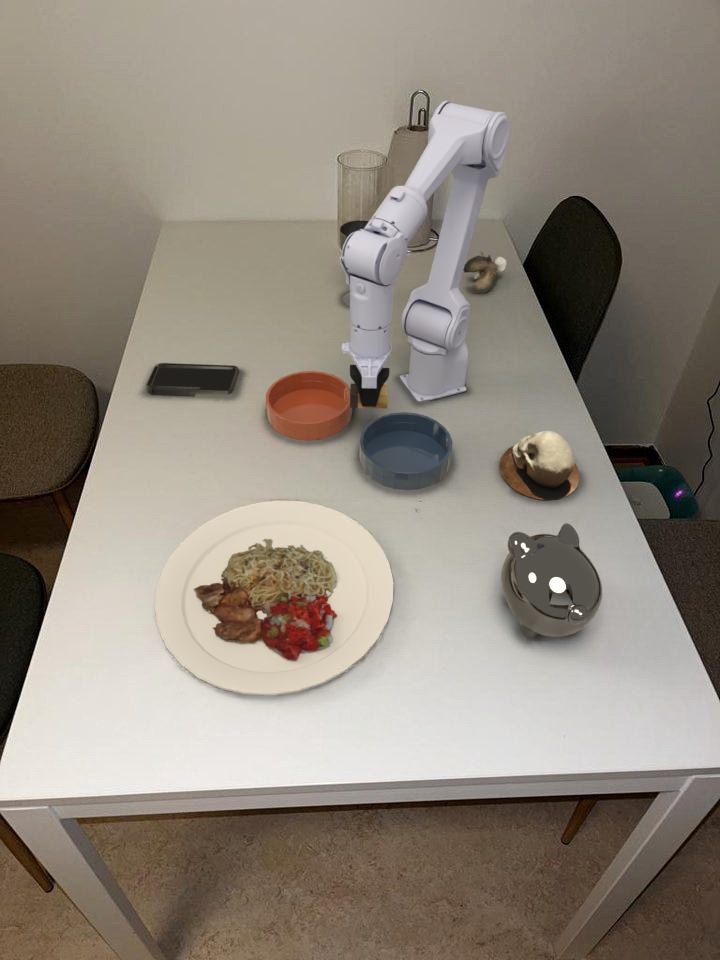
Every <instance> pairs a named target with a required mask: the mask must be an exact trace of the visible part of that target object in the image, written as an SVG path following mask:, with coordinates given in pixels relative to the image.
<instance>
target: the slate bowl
mask: <svg viewBox="0 0 720 960" xmlns="http://www.w3.org/2000/svg"><path fill="white" fill-rule="evenodd" d="M453 442H454V441H453V438H452V436H451V433H450V432H449V431H448V429H447V428H446V427H445V426H444V425H443V424H442V423H440V421H438V420H436V419H434V418H432V417H430V416H427V415H424V414H420V413H417V412H407V411H402V412H401V411H400V412H390V413H387V414H383V415H381V416H378V417H376V418H374V419H373V420H371V421H370V422H368V424H366V425H365V427H364V428H363V429H362V431H361V433H360V437H359V448H358V449H359V456H358V457H359V463H360V466H361V468H362V470H363V472H364V473H365V474H366V475H367V476H368V477H369V478H370V479H371V480H373V481H374V482H375V483H377V484H380V485H382V486H385V487H386V488H390V489H395V490H401V491H413V490H420V489H425V488H427V487H430V486H432V485H434V484H436V485H438V484H440V483H441V482H442V481H443V480H444V479H445V478H446V477H447V475H448V473H449V470H450V467H451V461H452V453H453V444H454V443H453Z"/></svg>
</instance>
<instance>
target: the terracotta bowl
mask: <svg viewBox="0 0 720 960" xmlns="http://www.w3.org/2000/svg"><path fill="white" fill-rule="evenodd" d="M265 406H266V415H267V420H268V422H269V424H270V426H271V427H272V428H273V429H274V430H275V431H276V432H277V433H279V434H281V435H283V436H285V437H287V438H290V439H293V440H298V441H299V440H301V441H317V440H323V439H326V438H329V437H332V436H334V435H336V434H338V433H340V432H341V431H343V430H344V429H345V428H346V427H347V426H348V425H349V423H350V422H351V420H352V415H353V408H350V386H349V384H348V383H347V382H346V381H344V380H343V379H342V378H341V377H339V376H336V375H334V374H332V373H328V372H324V371H315V370H305V371H303V370H302V371H298V372H293V373H289V374H287V375H285V376H282V377H280V378H279V379H277V380H275V381H274V382H273V383H272V384H271V385H270V386H269V387H268V389H267V392H266V394H265Z"/></svg>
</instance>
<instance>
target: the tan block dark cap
mask: <svg viewBox="0 0 720 960" xmlns="http://www.w3.org/2000/svg"><path fill="white" fill-rule="evenodd" d="M349 388H350V408H352V409H388V404H389V403H388V401H389V400H388V399H389V385H388V384H385V383H384V384H383V386H382V388H381V391H380V395H379V399H378V402H377V405H376V407H363V406H362V404H361V401H360V397H359V393H358V389H357V386H356V384H355V383H354V382H353V383H351V382H350V386H349Z"/></svg>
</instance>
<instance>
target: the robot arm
mask: <svg viewBox="0 0 720 960" xmlns="http://www.w3.org/2000/svg"><path fill="white" fill-rule="evenodd" d="M510 136H511V130H510V121H509V119H508V115H507V113H505V112H504V111H493V110H487V109H484V108H478V107H473V106H468V105H464V104H459V103H454V102H452V101H450V100H444V101H442V102H441V103H440V104H438V106H437V108H436V109H435V110H434V112H433V114H432V116H431V118H430V121H429V125H428V132H427V144H426V147H425V148H424V150H423V152H422V154H421V155H420V157H419V158H418V160H417V163H416V165H415V166H414V167H413V169H412V171H411V173H410V175H409V176H408V179H407V180H406V182H405V183H404V185H395V186H393V187H392V188H391V189H390V191H389V192H388V194H387V195H386V196H385V198H384V199H383V201H382V202H381V203H380V205H379V206H378V207H377V208H376V211H375V212H374V213H373V215H372V217H370V219H369V220H368V221H369V222H368V223H367V225H366V226H365V228H364V229H360V230H359V231H358V230H357V231H356V232H353V233H351V234H350V235H349V236H348V237H347V239H346V241H345V243H344V246H343V249H342V250H341V256H340V257H339V265H340V269H341V271H343V273H344V276H345V284H346V286H347V287H348V288H349V293H350V307H349V341H346V342H343V343H341V353H342V354H343V355H349V356H350V358H351V359H352V361H353V363H354V364H350V365H349V376H350V379H351V381H353V383H354V384H356V386H357V389H358V393H359V397H360V401H361V404H362V406H363V407H376V405H377V402H378V399H379V395H380V391H381V388H382V386H383V384H384V385H385V383H386V382H387V381H388V379H389V377H390V373H391V372H390V367H384V366H385V365H386V363H387V362H388V360H389V358H390V357H391V356H392V351H393V345H392V344H391V343H392V341H391V340H392V322H393V320H392V318H393V317H392V316H393V298H394V296H393V294H394V281H395V280H396V279H397V278H398V277H399V275H400V273H401V271H402V267H403V266H404V265H403V264H404V260H405V258H406V255H407V254H408V253H407V252H408V251H409V250H408V245H409V243H410V242H411V240H412V239H413V237H414V236H415V235H416V233H417V231H418V230H419V228H420V227H421V225H422V224H423V222H424V221H425V219H426V218H427V217H428V213H429V212H428V206H427V201H428V200H429V199H430V198H431V197H432V196H433V194H434V193H435V192H436V191H437V189H438V188H439V187H440V186H441V185H442V183H443V182H444V181H445V180H446V178H447V177H449V175H450V174H452V178H453V181H452V185H451V189H450V193H449V196H448V200H447V205H446V208H445V213H444V216H443V220H442V225H441V228H440V232H439V236H438V240H437V243H436V248H435V251H434V256H433V260H432V264H431V268H430V272H429V275H428V280H427V282H426V283H425V284H422V285H420V286H418V287H416V288H414V289H412V290H411V292H410V295H409V297H408V301H407V303H406V305H405V307H404V309H403V311H402V314H401V317H400V327H401V331H402V333H403V334H404V335H406V336H407V338H406V341H407V342H408V343H410V353H409V367H408V373H405V374H401V375H399V378H400V380H401V381H402V383H403V384H404V385H405V387H406V388H407V389H408V390H409V392H410V393H411V395H412V396H413V397H414V398H415V400H416V401H417V402H423V401H427V400H428V401H433V400H436V399H441V398H445V397H449V396H453V395H457V394H461V393H465V392H467V387H466V386H465V384H466V377H467V372H468V371H467V369H468V363H469V351H468V346H467V344H466V342H465V339H466V336H467V333H468V330H469V317H470V312H471V304H470V302H469V301H468V300H467V298H466V297H465V296H464V294H463V293H462V291H461V290H460V284H461V280H462V276H463V273H464V271H463V270H464V266H465V264H466V262H467V258H468V254H469V251H470V249H471V243H472V240H473V236H474V232H475V229H476V225H477V222H478V218H479V214H480V210H481V208H482V204H483V199H484V197H485V193H486V189H487V185H488V182H489V180H490V179H494V178H497V177H498V176H499V174H500V171H501V168H502V167H503V163H504V160H505V156H506V153H507V148H508V144H509V141H510Z"/></svg>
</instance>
